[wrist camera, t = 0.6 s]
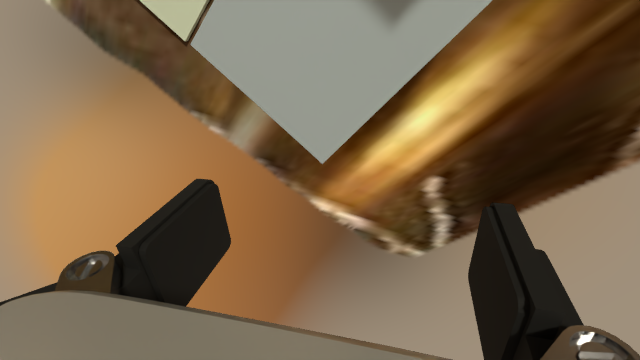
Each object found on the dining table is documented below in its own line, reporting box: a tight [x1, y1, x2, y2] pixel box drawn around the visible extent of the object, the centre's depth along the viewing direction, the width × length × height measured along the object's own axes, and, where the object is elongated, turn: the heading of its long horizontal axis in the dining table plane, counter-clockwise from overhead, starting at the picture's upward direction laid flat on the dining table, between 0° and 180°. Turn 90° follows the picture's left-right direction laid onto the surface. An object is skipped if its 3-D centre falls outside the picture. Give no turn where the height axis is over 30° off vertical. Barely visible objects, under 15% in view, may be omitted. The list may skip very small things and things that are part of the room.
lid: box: [190, 0, 492, 164], centre depth 22 cm, size 21×15×7 cm
